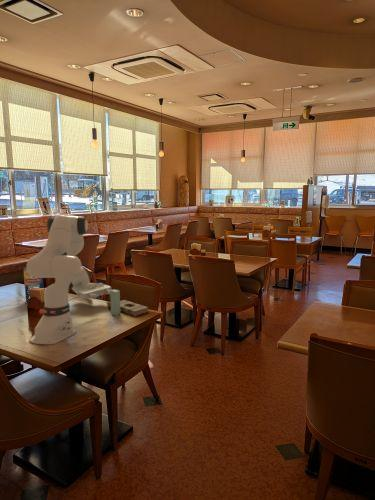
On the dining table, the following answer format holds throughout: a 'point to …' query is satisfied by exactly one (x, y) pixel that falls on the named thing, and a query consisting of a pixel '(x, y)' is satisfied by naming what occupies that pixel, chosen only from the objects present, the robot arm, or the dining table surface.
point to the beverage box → (31, 282)
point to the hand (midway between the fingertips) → (102, 294)
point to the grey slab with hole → (132, 308)
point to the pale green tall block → (115, 302)
